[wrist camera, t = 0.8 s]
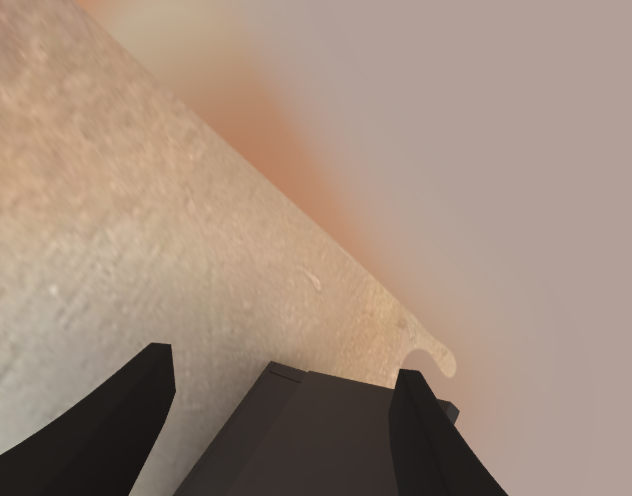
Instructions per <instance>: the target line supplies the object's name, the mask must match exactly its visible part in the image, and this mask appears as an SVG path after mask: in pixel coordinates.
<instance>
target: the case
mask: <svg viewBox="0 0 632 496" xmlns="http://www.w3.org/2000/svg"><path fill="white" fill-rule="evenodd" d="M307 373H308V372H305V371H302V370H299V369H295V368H292V367H289V366H286V365H282V364H279V363H276V362H273V361H271V362H270V363H269V365H268V366H267V367H266V369H265V370H264V371H263V373H262V374H261V376H260V377H259V378H258V380H257V381H256V382H255V384H254V385H253V387H252V388H251V389H250V391H249V392H248V393H247V395H246V396H245V398H244V399H243V400H242V402H241V403H240V404H239V406H238V407H237V408H236V410H235V411H234V413H233V414H232V415H231V417H230V418H229V419H228V421H227V422H226V424H225V425H224V426H223V428H222V429H221V430H220V432H219V433H218V435H217V436H216V437H215V439H214V440H213V441H212V443H211V444H210V446H209V447H208V448H207V450H206V451H205V452H204V454H203V455H202V456H201V458H200V459H199V461H198V462H197V463H196V465H195V466H194V467H193V469H192V470H191V472H190V473H189V474H188V476H187V477H186V478H185V480H184V481H183V483H182V484H181V485H180V487H179V488H178V489H177V491H176V492H175V493H174V495H173V496H226V494H227V493H228V491H229V490H230V488H231V487H232V485H233V484H234V482H235V481H236V479H237V478H238V476H239V475H240V473H241V472H242V470H243V469H244V467H245V466H246V464H247V463H248V461H249V460H250V458H251V457H252V455H253V454H254V452H255V451H256V449H257V448H258V446H259V445H260V443H261V442H262V440H263V439H264V437H265V436H266V434H267V433H268V431H269V430H270V428H271V427H272V425H273V424H274V422H275V421H276V419H277V418H278V416H279V415H280V413H281V412H282V410H283V409H284V407H285V406H286V404H287V403H288V401H289V400H290V398H291V397H292V395H293V394H294V392H295V391H296V389H297V388H298V386H299V385H300V383H301V382H302V380H303V379H304V377H305V376H306V374H307Z"/></svg>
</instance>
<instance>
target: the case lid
mask: <svg viewBox="0 0 632 496" xmlns="http://www.w3.org/2000/svg"><path fill="white" fill-rule="evenodd" d="M393 393H394V389H390V388H385V387H381V386H376V385H372V384H367V383H363V382H358V381H354V380H349V379H345V378H340V377H336V376H331V375H327V374H322V373H318V372H313V371H308V373H307V374H306V376H305V377H304V379H303V380H302V382H301V383H300V385H299V386H298V388H297V389H296V391H295V392H294V394H293V395H292V397H291V398H290V400H289V401H288V403H287V404H286V406H285V407H284V409H283V410H282V412H281V413H280V415H279V416H278V418H277V419H276V421H275V422H274V424H273V425H272V427H271V428H270V430H269V431H268V433H267V434H266V436H265V437H264V439H263V440H262V442H261V443H260V445H259V446H258V448H257V449H256V451H255V452H254V454H253V455H252V457H251V458H250V460H249V461H248V463H247V464H246V466H245V467H244V469H243V470H242V472H241V473H240V475H239V476H238V478H237V479H236V481H235V482H234V484H233V485H232V487H231V488H230V490H229V491H228V493H227V494H226V496H399V494H398V488H397V483H396V477H395V472H394V466H393V460H392V455H391V449H390V438H389V423H388V412H389V408H390V404H391V400H392V397H393ZM437 400H438V402H439V403H440V405H441V406H442V408H443V409H444V411H445V413H446V414H447V416H448V417H449V419H450V420H451V421H452V423H453V424H455V422H456V419H457V417H458V415H459V412H460V411H459V410H458V409H457V408H456V407H455V406H454V405H453V404H452V403H451V402H449V401H444V400H440V399H437Z"/></svg>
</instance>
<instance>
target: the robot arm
mask: <svg viewBox="0 0 632 496" xmlns="http://www.w3.org/2000/svg"><path fill="white" fill-rule="evenodd" d="M175 393H176V388H175V378H174V368H173V358H172V348H171V344H162V343H153V342H152V343H150V344H149V345H148V346H147V347H145V348H144V349H143V350H142V351H141V352H140V353H138V354H137V355H136V356H135V357H134V358H132V359H131V360H130V361H129V362H128V363H127V364H125V365H124V366H123V367H122V368H121V369H120V370H118V371H117V372H116V373H115V374H114V375H112V376H111V377H110V378H109V379H107V380H106V381H105V382H104V383H103V384H101V385H100V386H99V387H98V388H96V389H95V390H94V391H93V392H91V393H90V394H89V395H88V396H86V397H85V398H84V399H82V400H81V401H80V402H78V403H77V404H76V405H74V406H73V407H72V408H70V409H69V410H68V411H66V412H65V413H64V414H62V415H61V416H60V417H58V418H57V419H55V420H54V421H52V422H51V423H50V424H48V425H47V426H45V427H44V428H42V429H41V430H39V431H38V432H36V433H35V434H33V435H32V436H30V437H29V438H27V439H26V440H24V441H23V442H21V443H19V444H18V445H16V446H15V447H13V448H11V449H10V450H8V451H6V452H4V453H3V454H1V455H0V496H128V495H129V493H130V491H131V489H132V487H133V485H134V483H135V481H136V479H137V477H138V475H139V473H140V471H141V469H142V467H143V465H144V463H145V461H146V459H147V457H148V455H149V453H150V451H151V449H152V447H153V445H154V443H155V441H156V439H157V437H158V435H159V433H160V431H161V429H162V427H163V425H164V423H165V420H166V418H167V415H168V412H169V410H170V407H171V404H172V401H173V398H174V395H175ZM388 423H389V438H390V449H391V455H392V460H393V466H394V472H395V477H396V483H397V488H398V494H399V496H508V495H507V494H506V493H505V491H504V490H503V489H502V488H501V487H500V485H499V484H498V483H497V482H496V481H495V480H494V478H493V477H492V476H491V475H490V473H489V472H488V471H487V469H486V468H485V467H484V466H483V465H482V463H481V462H480V460H479V459H478V458H477V457H476V455H475V454H474V453H473V451H472V450H471V449H470V447H469V446H468V444H467V443H466V442H465V440H464V439H463V438H462V436H461V435H460V433H459V432H458V430H457V429H456V427H455V426H454V424H453V423H452V421H451V420H450V419H449V417H448V416H447V414H446V413H445V411H444V409H443V408H442V406H441V405H440V403H439V402H438V400H437V398H436V397H435V395H434V394H433V392H432V390H431V389H430V387H429V386H428V384H427V382H426V380H425V379H424V377H423V375H422V374H421V373H420V372H419V371H416V370H407V369H400V370H399V373H398V377H397V381H396V385H395V389H394V393H393V397H392V400H391V404H390V408H389V412H388Z"/></svg>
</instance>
